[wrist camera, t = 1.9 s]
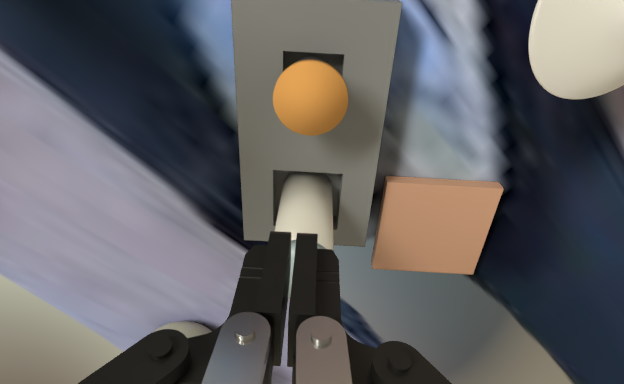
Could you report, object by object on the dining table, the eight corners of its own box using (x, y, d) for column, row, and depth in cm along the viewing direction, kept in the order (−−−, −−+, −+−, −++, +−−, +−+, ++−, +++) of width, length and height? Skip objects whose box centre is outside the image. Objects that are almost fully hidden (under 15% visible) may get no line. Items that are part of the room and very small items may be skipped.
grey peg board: (249, 221, 42) (244, 239, 39) (238, -12, 30) (230, -7, 28) (362, 228, 42) (364, 246, 39) (395, -2, 30) (402, 2, 28)
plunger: (278, 112, 32) (272, 133, 29) (279, 46, 30) (272, 60, 26) (342, 115, 32) (344, 137, 29) (348, 49, 30) (351, 64, 26)
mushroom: (656, -59, 28) (848, -62, 18) (554, 83, 33) (655, 144, 23) (532, -126, 26) (664, -172, 16) (445, 36, 31) (502, 79, 21)
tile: (371, 261, 44) (372, 268, 43) (385, 175, 38) (387, 182, 37) (469, 266, 44) (472, 274, 43) (498, 182, 38) (503, 188, 37)
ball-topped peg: (282, 207, 40) (267, 298, 30) (283, 165, 37) (266, 248, 27) (330, 210, 40) (331, 301, 30) (334, 168, 37) (336, 252, 27)
